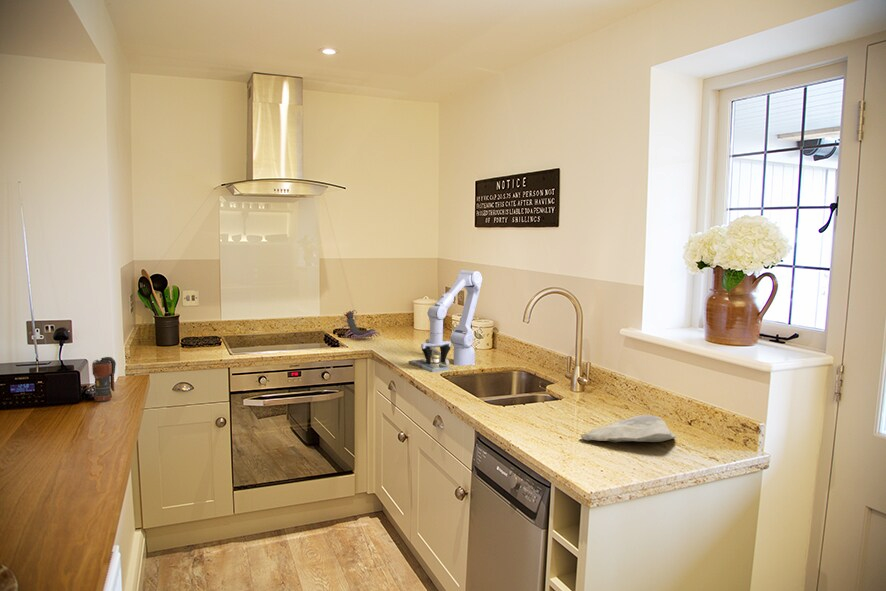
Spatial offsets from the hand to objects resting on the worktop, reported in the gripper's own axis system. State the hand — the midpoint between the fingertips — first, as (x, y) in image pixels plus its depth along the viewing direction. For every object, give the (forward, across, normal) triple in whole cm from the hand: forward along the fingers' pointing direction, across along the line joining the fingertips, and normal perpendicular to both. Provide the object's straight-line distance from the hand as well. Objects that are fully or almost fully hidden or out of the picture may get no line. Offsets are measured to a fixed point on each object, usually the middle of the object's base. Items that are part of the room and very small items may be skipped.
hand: (435, 363), depth 269 cm
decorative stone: (+4, -4, +102) cm, 102 cm away
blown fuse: (+3, 0, 0) cm, 3 cm away
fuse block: (+3, +1, -10) cm, 11 cm away
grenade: (+4, +127, -18) cm, 128 cm away
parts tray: (+3, 0, 0) cm, 3 cm away
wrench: (+4, -13, -19) cm, 23 cm away
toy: (+4, -4, -85) cm, 86 cm away
